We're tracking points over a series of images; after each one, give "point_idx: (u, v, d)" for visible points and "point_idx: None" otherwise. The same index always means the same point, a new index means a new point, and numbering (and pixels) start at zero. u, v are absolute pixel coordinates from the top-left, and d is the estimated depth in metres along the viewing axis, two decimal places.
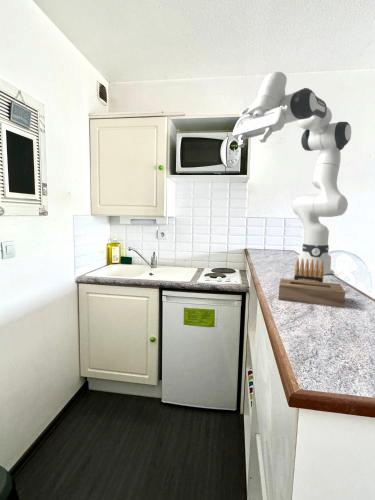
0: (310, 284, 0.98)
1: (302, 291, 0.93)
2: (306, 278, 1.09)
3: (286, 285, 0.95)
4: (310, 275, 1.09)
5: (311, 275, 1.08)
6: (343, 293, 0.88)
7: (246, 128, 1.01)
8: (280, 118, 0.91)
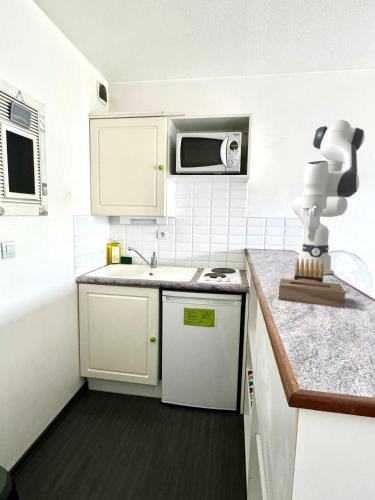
0: (310, 284, 0.98)
1: (302, 291, 0.93)
2: (306, 278, 1.09)
3: (286, 285, 0.95)
4: (310, 275, 1.09)
5: (311, 275, 1.08)
6: (343, 293, 0.88)
7: None
8: (310, 223, 0.98)
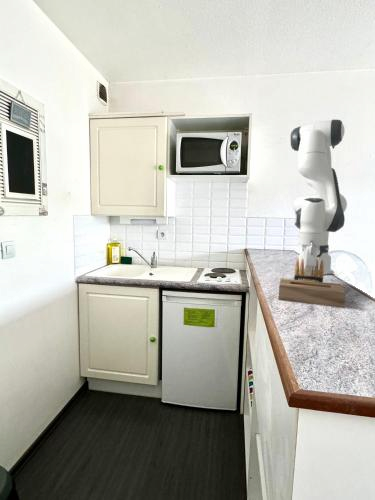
0: (310, 284, 0.98)
1: (302, 291, 0.93)
2: (306, 278, 1.09)
3: (286, 285, 0.95)
4: None
5: (311, 275, 1.08)
6: (343, 293, 0.88)
7: (304, 258, 1.13)
8: (307, 262, 1.00)
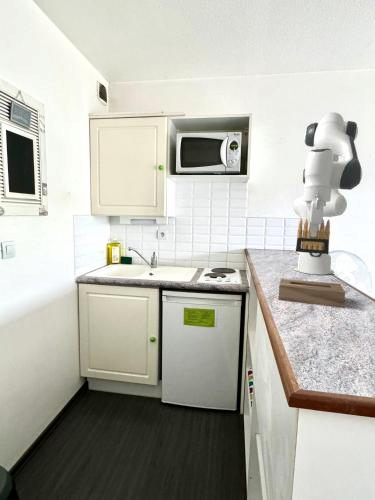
0: (310, 284, 0.98)
1: (302, 291, 0.93)
2: (310, 240, 0.98)
3: (286, 285, 0.95)
4: (315, 237, 0.97)
5: (316, 237, 0.97)
6: (343, 293, 0.88)
7: (308, 219, 1.01)
8: (312, 217, 0.88)
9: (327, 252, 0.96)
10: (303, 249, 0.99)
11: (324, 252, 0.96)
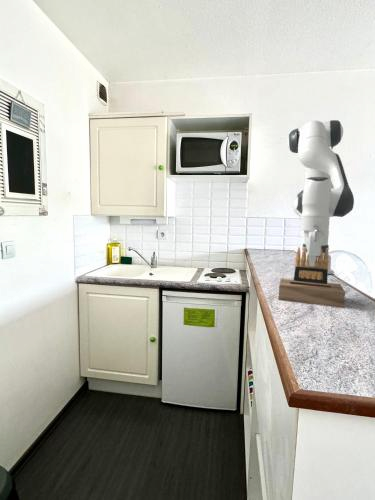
0: (310, 284, 0.98)
1: (302, 291, 0.93)
2: (309, 270, 0.95)
3: (286, 285, 0.95)
4: (313, 266, 0.95)
5: (314, 266, 0.95)
6: (343, 293, 0.88)
7: (306, 246, 0.99)
8: (310, 249, 0.86)
9: (326, 282, 0.94)
10: (301, 278, 0.97)
11: (323, 282, 0.94)
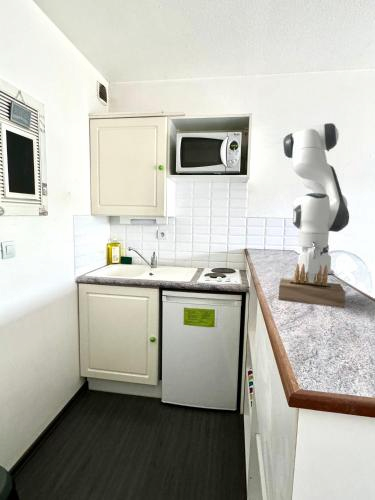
0: None
1: (302, 291, 0.93)
2: (308, 285, 0.95)
3: (286, 285, 0.95)
4: None
5: None
6: (343, 293, 0.88)
7: (305, 261, 1.00)
8: (309, 266, 0.87)
9: None
10: None
11: None
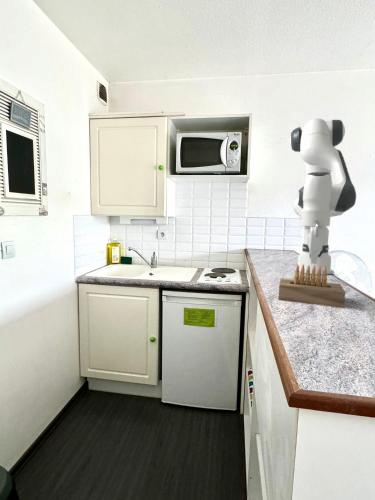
0: None
1: (302, 291, 0.93)
2: None
3: (286, 285, 0.95)
4: (312, 283, 0.96)
5: (313, 283, 0.96)
6: (343, 293, 0.88)
7: (307, 242, 0.99)
8: (311, 245, 0.86)
9: None
10: None
11: None
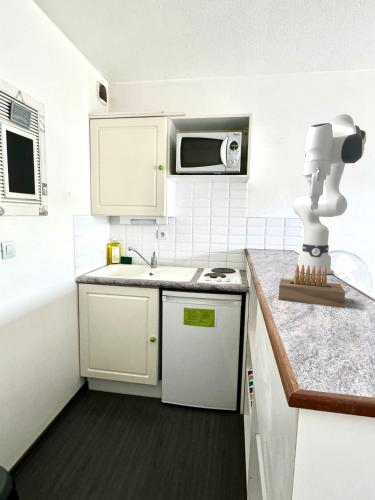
0: None
1: (302, 291, 0.93)
2: None
3: (286, 285, 0.95)
4: (312, 283, 0.96)
5: (313, 283, 0.96)
6: (343, 293, 0.88)
7: (309, 193, 1.04)
8: (313, 188, 0.92)
9: None
10: None
11: None
